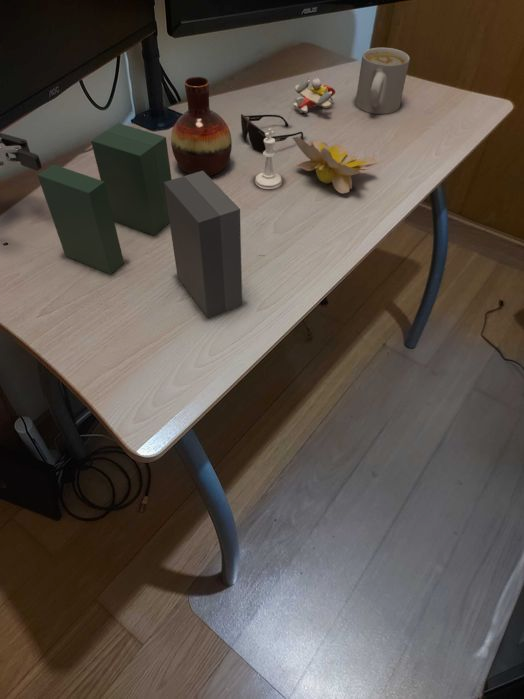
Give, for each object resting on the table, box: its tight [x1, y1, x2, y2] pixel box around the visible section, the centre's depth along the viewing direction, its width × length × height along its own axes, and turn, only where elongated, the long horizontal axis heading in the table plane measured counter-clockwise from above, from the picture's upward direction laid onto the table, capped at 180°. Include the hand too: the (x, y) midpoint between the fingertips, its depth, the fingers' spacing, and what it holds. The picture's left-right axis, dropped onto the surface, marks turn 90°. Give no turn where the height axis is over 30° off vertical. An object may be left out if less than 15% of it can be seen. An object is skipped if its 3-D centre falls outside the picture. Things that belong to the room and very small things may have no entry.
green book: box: [37, 164, 125, 275], centre depth 75 cm, size 3×9×14 cm, turn 62°
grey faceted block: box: [164, 171, 243, 319], centre depth 70 cm, size 6×10×16 cm, turn 31°
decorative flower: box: [292, 136, 379, 194], centre depth 92 cm, size 15×11×10 cm
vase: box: [170, 76, 233, 177], centre depth 93 cm, size 11×11×15 cm
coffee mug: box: [355, 47, 411, 115], centre depth 112 cm, size 13×10×10 cm
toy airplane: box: [293, 77, 336, 114], centre depth 112 cm, size 9×9×6 cm
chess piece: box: [254, 127, 283, 190], centre depth 91 cm, size 5×5×10 cm
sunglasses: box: [240, 113, 304, 153], centre depth 104 cm, size 10×12×5 cm
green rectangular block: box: [90, 122, 173, 237], centre depth 82 cm, size 6×9×14 cm
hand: (17, 176), depth 75 cm, fingers open, 8 cm apart
